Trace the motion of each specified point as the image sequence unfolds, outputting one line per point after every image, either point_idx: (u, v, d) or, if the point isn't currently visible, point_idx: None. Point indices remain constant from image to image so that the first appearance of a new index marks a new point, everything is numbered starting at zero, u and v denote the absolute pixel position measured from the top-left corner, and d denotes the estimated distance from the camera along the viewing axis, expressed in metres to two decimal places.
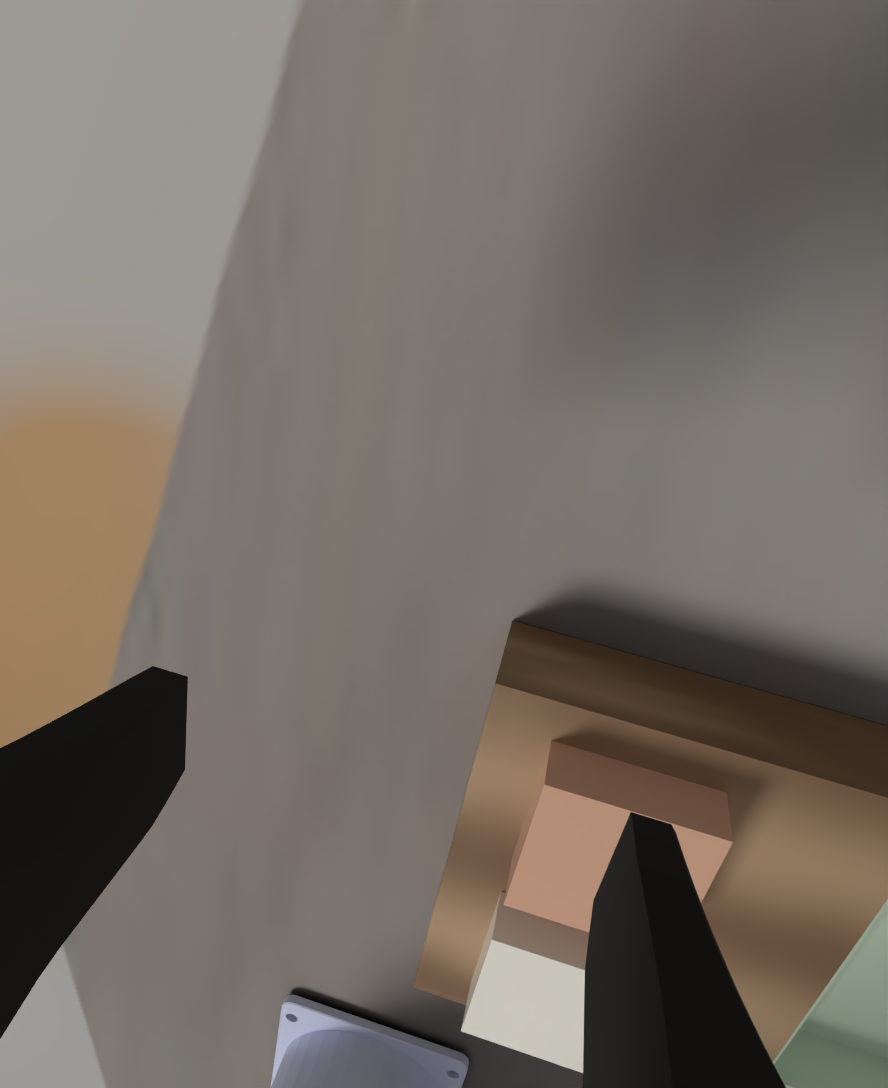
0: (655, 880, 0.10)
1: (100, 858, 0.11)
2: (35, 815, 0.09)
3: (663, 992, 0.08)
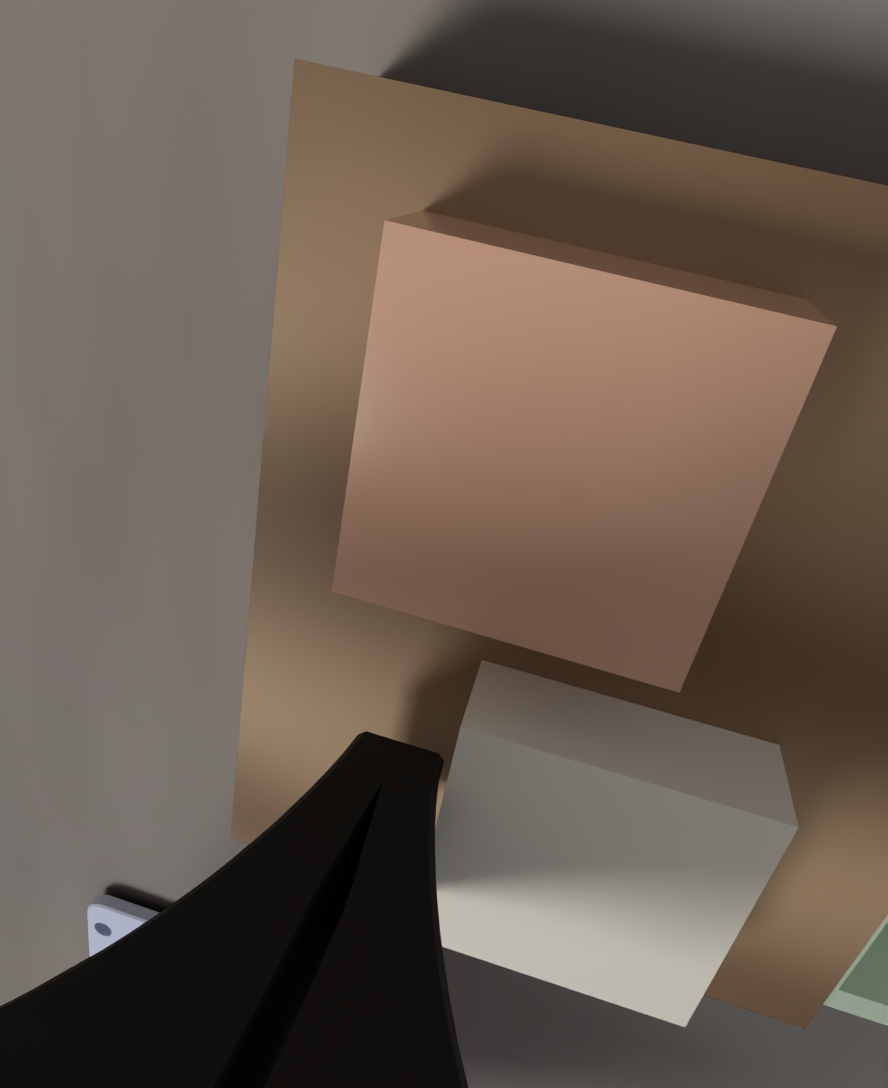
0: (392, 798, 0.10)
1: None
2: (314, 908, 0.09)
3: (351, 889, 0.09)
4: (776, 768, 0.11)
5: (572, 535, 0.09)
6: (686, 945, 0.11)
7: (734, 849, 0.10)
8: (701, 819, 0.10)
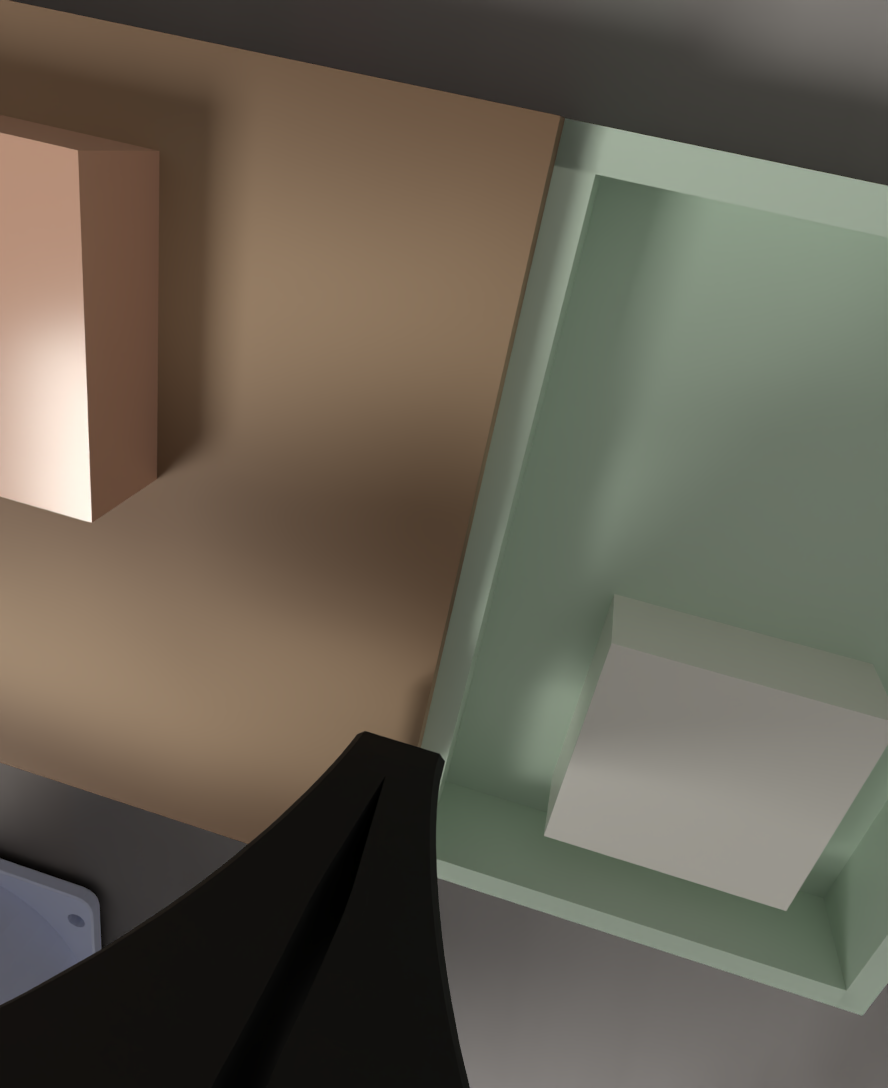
0: (393, 798, 0.10)
1: (332, 937, 0.11)
2: (313, 907, 0.09)
3: (353, 890, 0.09)
4: (619, 627, 0.13)
5: None
6: None
7: None
8: None
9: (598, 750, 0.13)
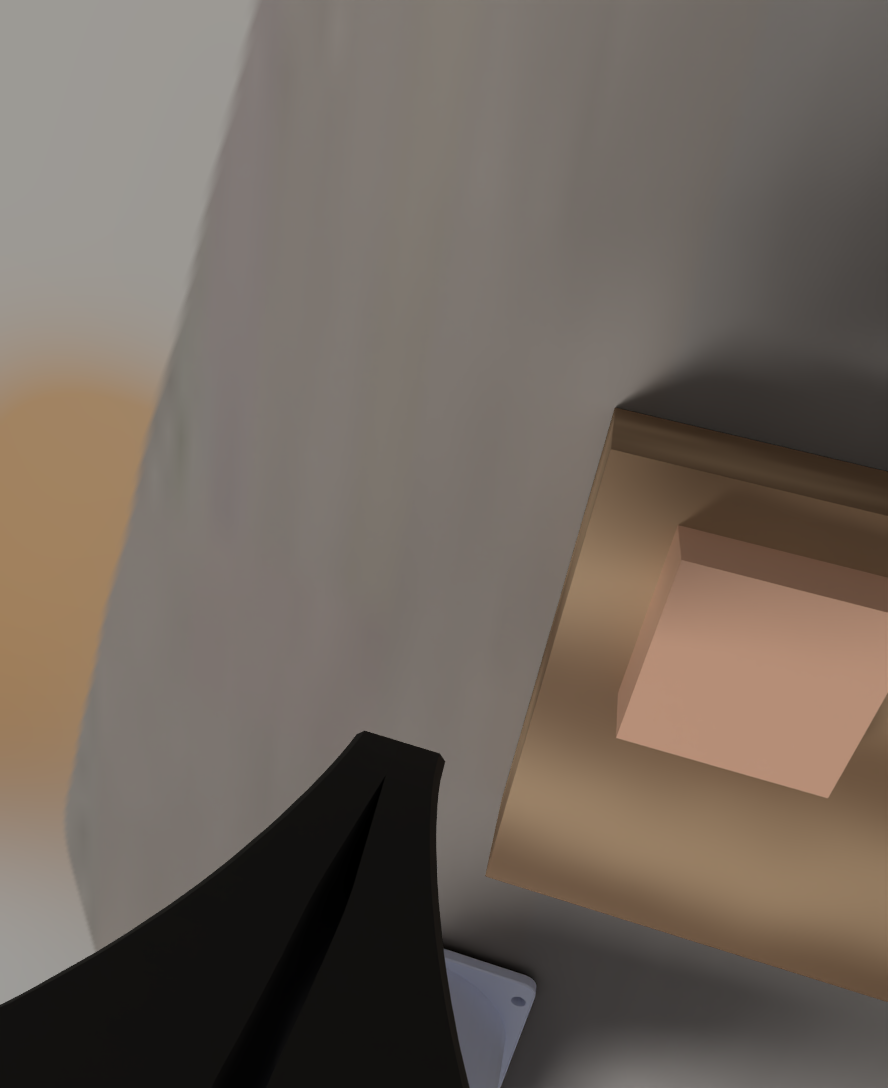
0: (394, 798, 0.10)
1: (332, 936, 0.11)
2: (313, 908, 0.09)
3: (353, 890, 0.09)
4: None
5: (771, 714, 0.16)
6: None
7: None
8: None
9: None
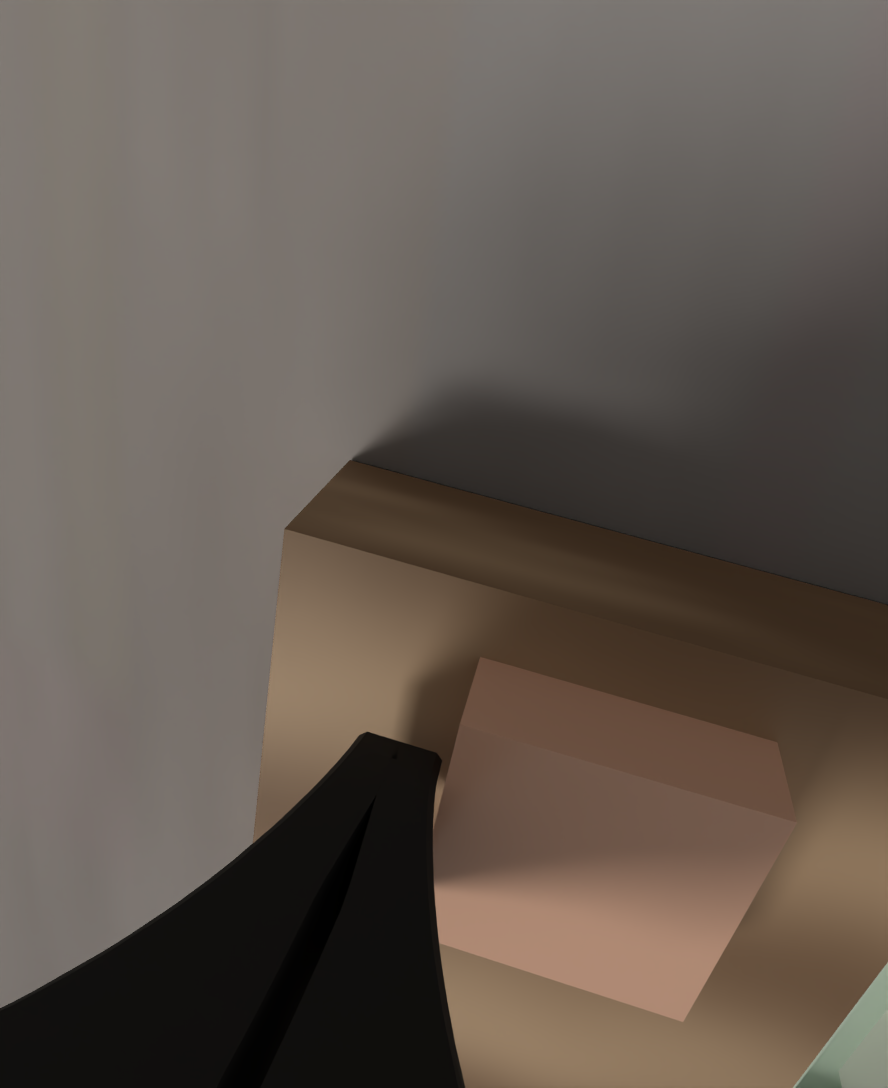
0: (390, 797, 0.10)
1: None
2: (316, 908, 0.09)
3: (349, 889, 0.09)
4: None
5: (599, 919, 0.12)
6: None
7: None
8: None
9: None
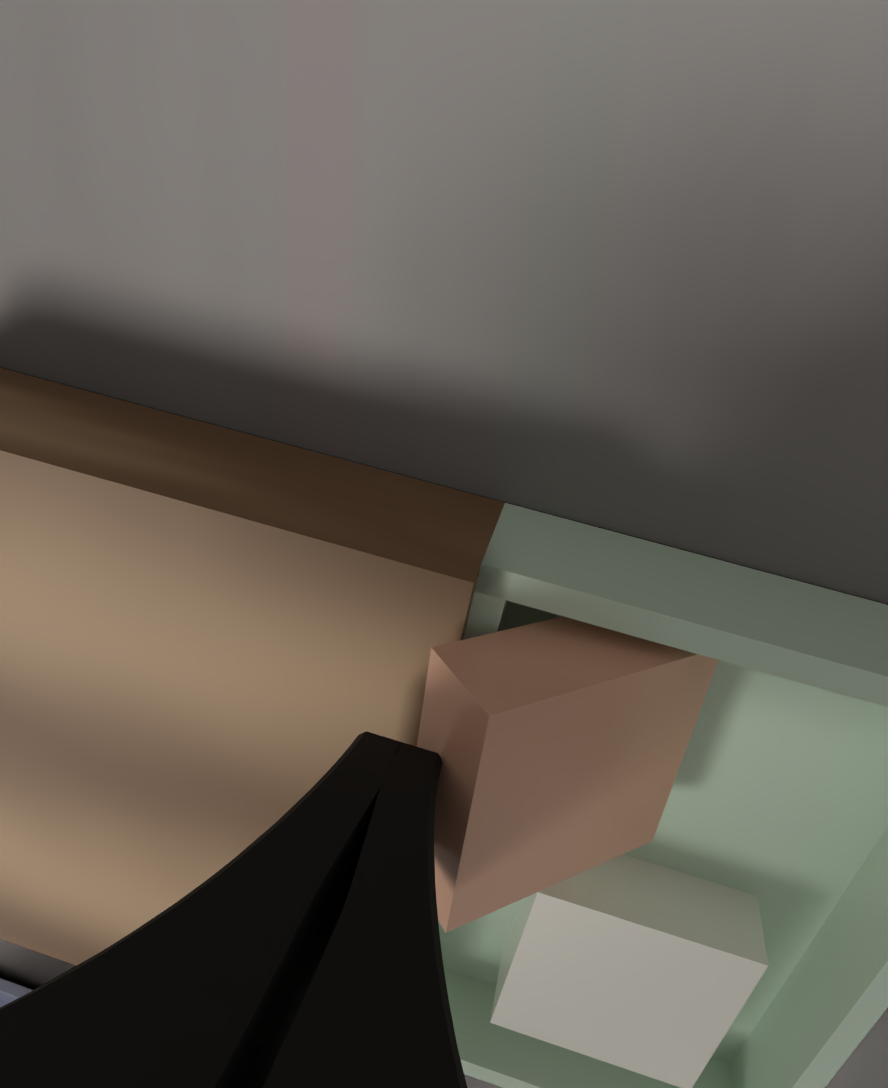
0: (391, 798, 0.10)
1: None
2: (316, 908, 0.09)
3: (350, 889, 0.09)
4: None
5: (599, 806, 0.13)
6: None
7: None
8: None
9: (531, 965, 0.16)
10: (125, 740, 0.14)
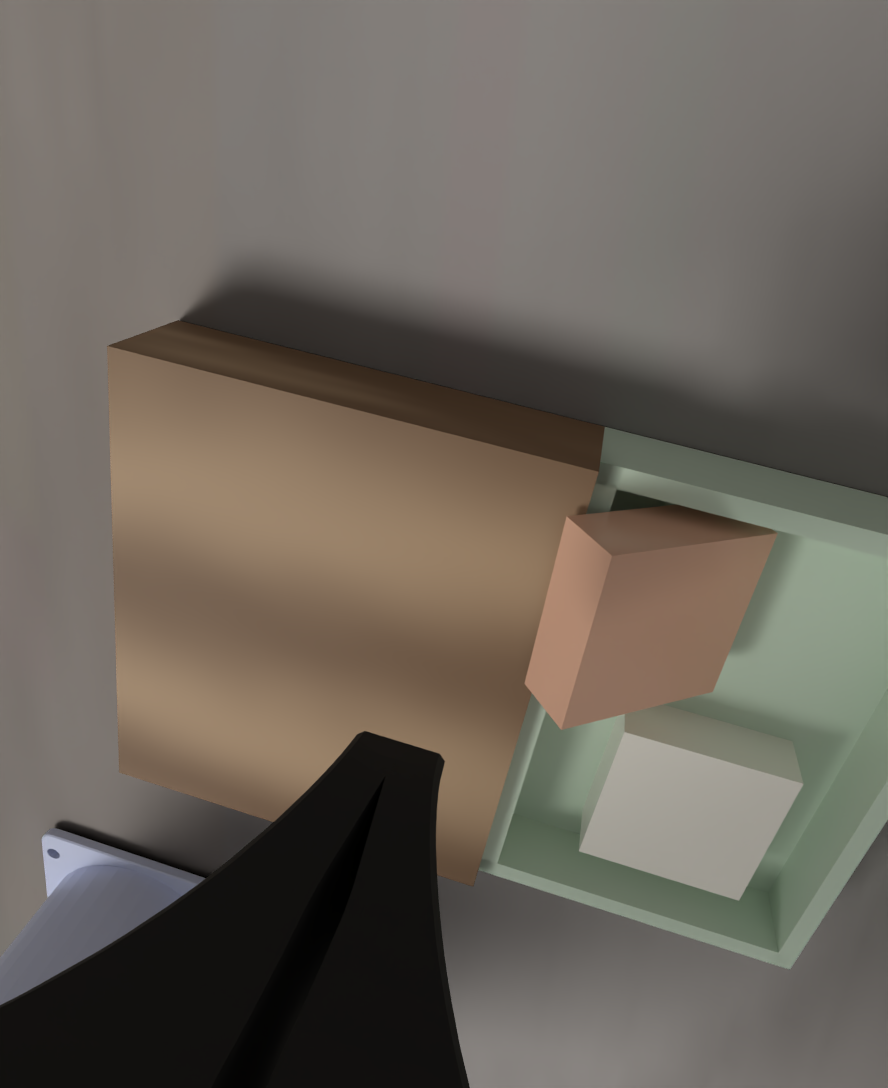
0: (393, 798, 0.10)
1: (332, 937, 0.11)
2: (313, 908, 0.09)
3: (353, 890, 0.09)
4: (629, 720, 0.20)
5: (677, 650, 0.17)
6: None
7: None
8: None
9: (615, 796, 0.21)
10: (313, 610, 0.19)
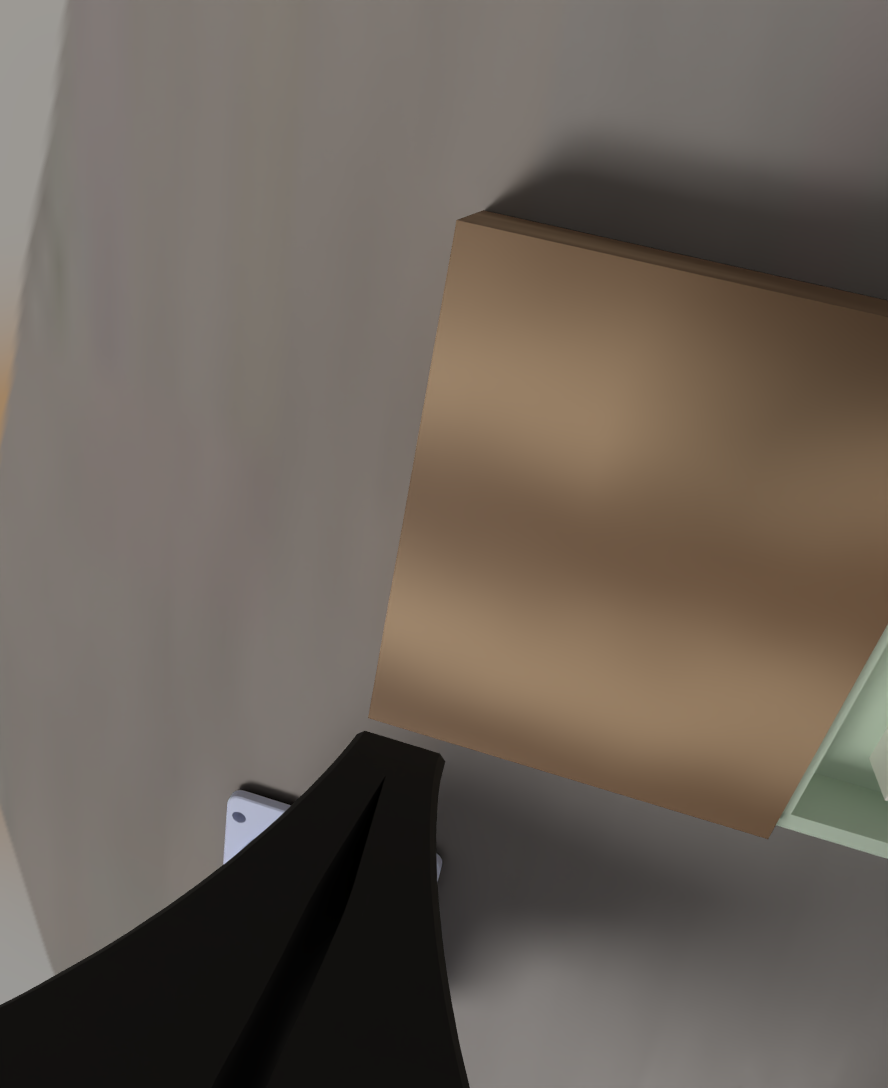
0: (393, 798, 0.10)
1: (332, 936, 0.11)
2: (313, 908, 0.09)
3: (353, 890, 0.09)
4: None
5: None
6: None
7: None
8: None
9: None
10: (644, 526, 0.17)
